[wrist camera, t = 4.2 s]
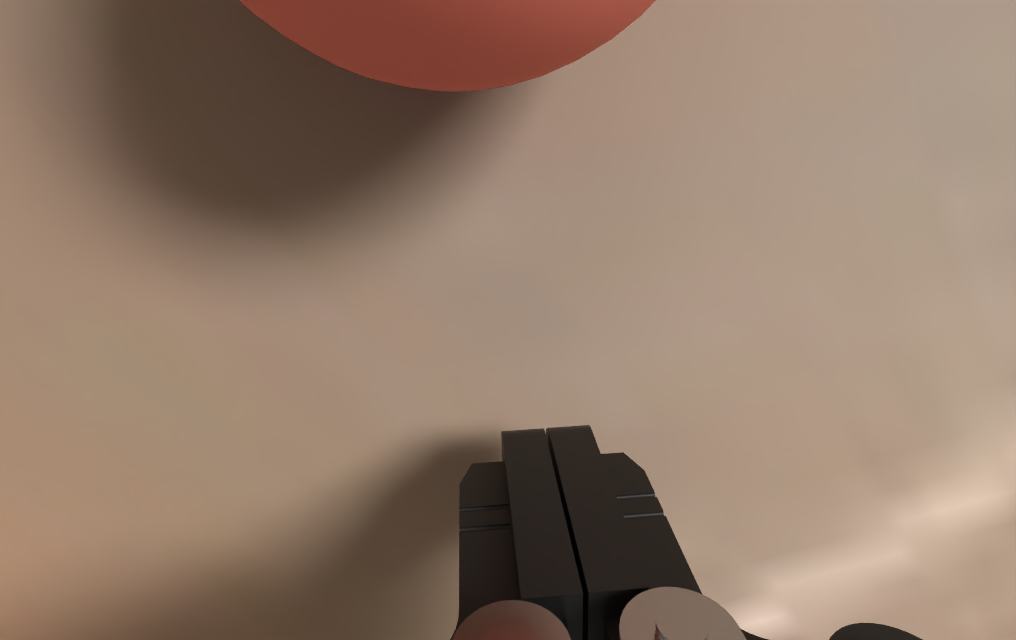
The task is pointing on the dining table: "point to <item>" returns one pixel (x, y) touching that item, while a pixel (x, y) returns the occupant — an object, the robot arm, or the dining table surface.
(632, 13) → the ball
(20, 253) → the dining table surface
